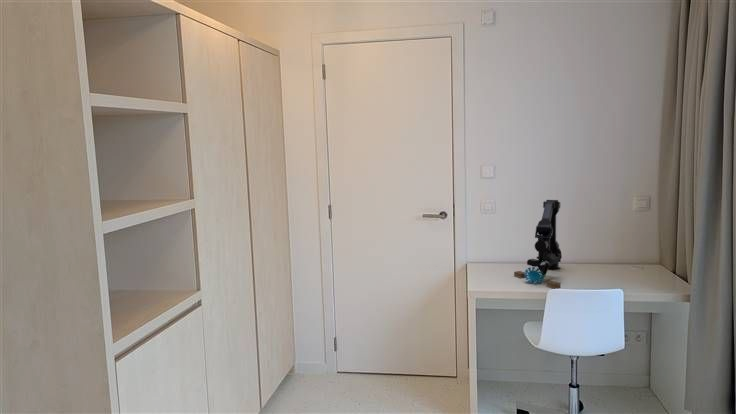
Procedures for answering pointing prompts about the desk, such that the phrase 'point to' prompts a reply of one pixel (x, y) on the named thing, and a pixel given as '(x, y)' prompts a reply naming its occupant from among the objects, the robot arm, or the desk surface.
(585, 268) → the desk surface
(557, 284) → the joist marks
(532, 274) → the gear
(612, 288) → the desk surface
